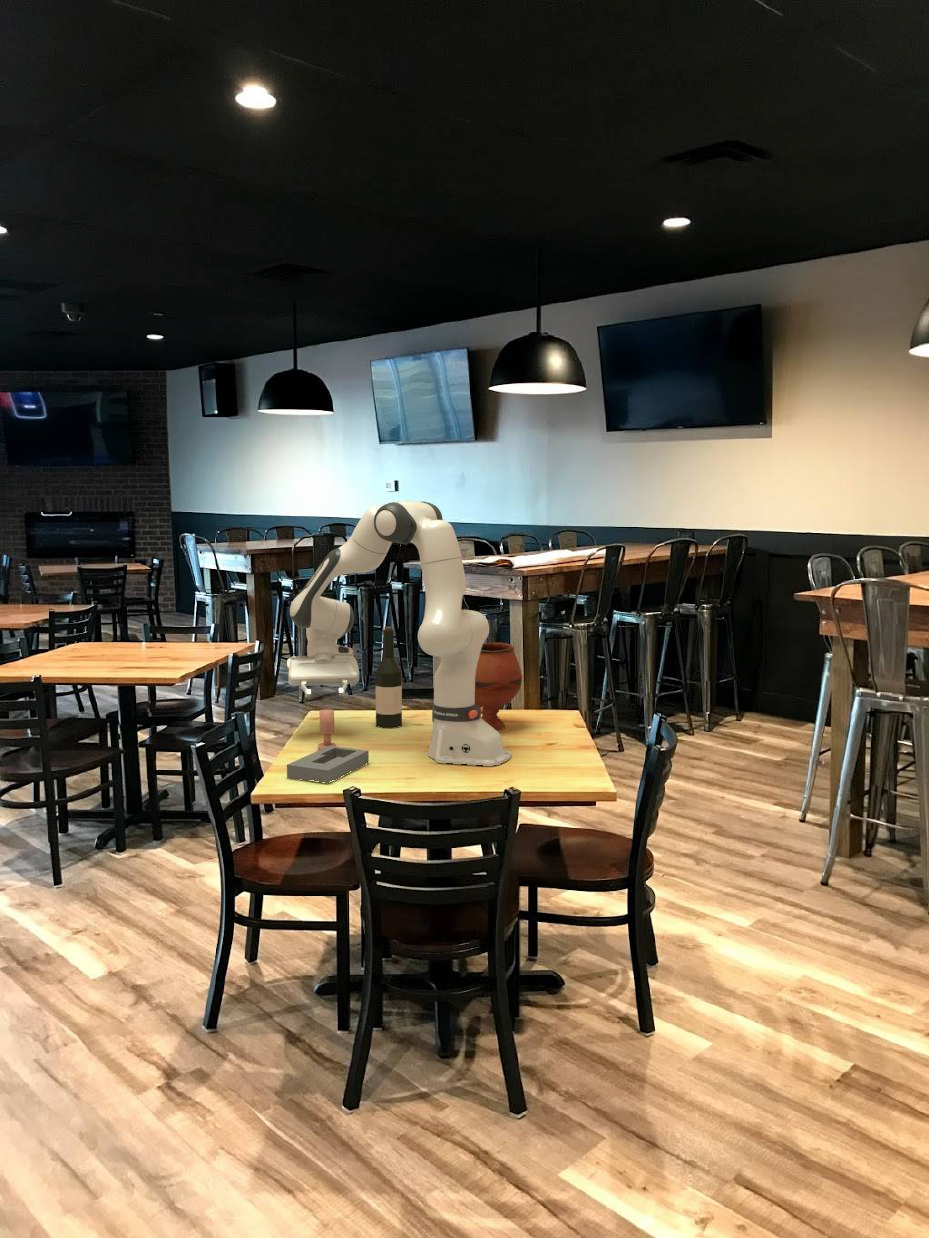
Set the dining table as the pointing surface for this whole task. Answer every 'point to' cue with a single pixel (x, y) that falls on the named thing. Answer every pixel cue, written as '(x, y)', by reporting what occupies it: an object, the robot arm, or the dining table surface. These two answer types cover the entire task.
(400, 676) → the wine bottle
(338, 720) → the dining table surface
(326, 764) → the keyhole plate
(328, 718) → the peg
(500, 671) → the goblet
